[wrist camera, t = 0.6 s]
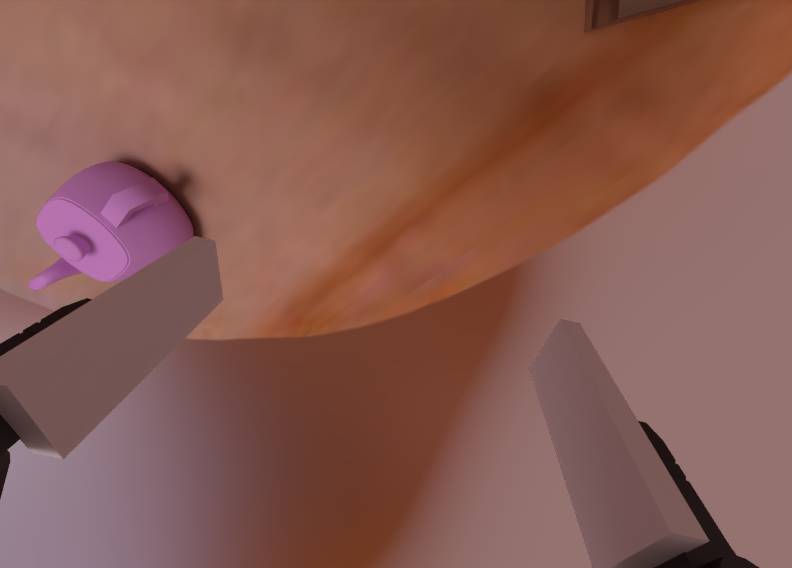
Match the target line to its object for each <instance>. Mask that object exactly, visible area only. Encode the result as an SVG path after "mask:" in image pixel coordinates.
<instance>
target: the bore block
mask: <svg viewBox="0 0 792 568" xmlns="http://www.w3.org/2000/svg"><path fill="white" fill-rule="evenodd" d="M696 1H700V0H586V12H585V29H584V32H588V31H591V30H595V29H599V28H602V27H606V26H609V25H613V24H617V23H620V22H624V21H628V20H631V19H635V18H638V17H642V16H646V15H649V14H653V13H656V12H660V11H664V10H667V9H671V8H674V7H678V6H682V5H685V4H689V3H693V2H696Z"/></svg>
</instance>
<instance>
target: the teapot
mask: <svg viewBox="0 0 792 568" xmlns="http://www.w3.org/2000/svg"><path fill="white" fill-rule="evenodd" d="M36 226H37V229H38V231H39V233H40V234H41V236H42V237H43V238H44V240H45V241H46V242H47V243H48V244H49V245H50V246H51V247H52V248H53V249H54V250H55V251H56V252H57V253H58V254H59V255H60V256H61V257H62V258H61V259H60V260H58V261H57V262H56V263H55V264H53V265H52V266H51V267H49V268H48V269H46V270H45V271H43V272H42V273H40V274H39V275H37V276H36V277H34V278H33V279H32V280H31V281H30V283H29V288H30V289H32V290H40V289H42V288H45V287H46V286H48V285H50V284H52V283H54V282H56V281H58V280H60V279H63V278H65V277H68V276H71V275H75V274H78V273H82V272H83V273H85V274H86V275H88V276H90V277H92V278H94V279H97V280H99V281H104V282H114V281H123V280H125V279H126V278H128V277H129V276H131V275H133V274H134V273H136V272H137V271H139V270H141V269H142V268H144V267H146V266H147V265H149V264H150V263H152V262H154V261H155V260H157V259H158V258H160V257H162V256H163V255H165V254H167V253H168V252H170V251H171V250H173V249H175V248H176V247H178V246H179V245H181V244H183V243H184V242H186V241H187V240H189V239H191V238H192V237H193V234H194V232H193V226H192V223H191V221H190V219H189V217H188V215H187V214H186V212H185V211H184V209H183V208H182V206H181V205H180V204H179V202H178V201H177V200H176V199H175V198H174V197H173V195H172V194H171V193H170V192H169V191H168V190H167V189H166V188H164V187H163V186H162V185H161V184H160V183H158V182H157V181H156V180H155V179H154V178H153V177H150V176H149V175H147V174H146V173H144V172H142V171H140V170H138V169H137V168H134V167H132V166H129V165H127V164H124V163H120V162H104V163H100V164H96V165H93V166H91V167H89V168H87V169H85V170H83V171H81V172H80V173H78V174H76V175H75V176H73V177H72V178H70V179H69V180H68V181H67V182H65V183H64V184H63V185H62V186H61V187H60V188H59V189H58V190H57V191H56V192H55V193H54V194H53V196H52V197H51V198H50V199H49V200H48V201H47V202H46V204H45V205H44V207H43V208H42V210H41V211H40V213H39V215H38V217H37V220H36Z"/></svg>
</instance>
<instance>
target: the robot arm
mask: <svg viewBox="0 0 792 568" xmlns="http://www.w3.org/2000/svg"><path fill="white" fill-rule="evenodd" d="M222 300H223V294H222V287H221V280H220V272H219V265H218V258H217V251H216V244H215V241H214V240H210V239H205V238H201V237H197V236H194V237H192V238H191V239H189V240H187V241H186V242H184V243H183V244H181V245H179V246H178V247H176V248H175V249H173V250H171V251H170V252H168V253H167V254H165V255H163V256H162V257H160V258H158V259H157V260H155V261H154V262H152V263H150V264H149V265H147V266H146V267H144V268H142V269H141V270H139V271H137V272H136V273H134V274H133V275H131V276H129V277H128V278H126V279H125V280H123V281H121V282H120V283H118V284H116V285H115V286H113V287H112V288H110V289H108V290H107V291H105V292H104V293H102V294H100V295H99V296H97V297H96V298H94V299H88V298H86V299H84V300H81V301H78V302H75V303H73V304H70V305H67V306H64V307H62V308H60V309H58V310H57V311H55V312H53V313H52V314H50V315H48V316H47V317H45V318H43V319H42V320H41V322H40V323H35V324H33V325H32V326H30V327H28V328H26V329H25V330H23V333H21V334H20V333H18V334H16V335H14V336H13V337H11V338H10V339H8V340H6V341H5V342H3V343H1V344H0V498H1V494H2V491H3V486H4V483H5V479H6V475H7V472H8V468H9V464H10V453H9V452H8V451H7V449H9V448H10V447H11V446H12V445H13V444H15V443H16V442H17V441H18V440H19V439H20V440H21V441H22V442H23V443H24V444H25V445H26V447H27V448H28V449H29V450H30V451H31V453H36V454H40V455H45V456H49V457H54V458H59V459H64V458H65V457H66V456H67V455H68V454H69V453H70V452H71V451H72V450H73V449H74V448H75V447H76V446H77V445H78V444H79V443H80V442H81V441H82V440H83V439H84V438H85V437H86V436H87V435H88V434H89V433H90V432H91V431H92V430H93V429H94V428H95V427H96V426H97V425H98V424H99V423H100V422H101V421H102V420H103V419H104V418H105V417H106V416H107V415H108V414H109V413H110V412H111V411H112V410H113V409H114V408H115V407H116V406H117V405H118V404H119V403H120V402H121V401H122V400H123V399H124V398H125V397H126V396H127V395H128V394H129V393H130V392H131V391H132V390H133V389H134V388H135V387H136V386H137V385H138V384H139V383H140V382H141V381H142V380H143V379H144V378H145V377H146V376H147V375H148V374H149V373H150V372H151V371H152V370H153V369H154V368H155V367H156V366H157V365H158V364H159V363H160V362H161V361H162V360H163V359H164V358H165V357H166V356H167V355H168V354H169V353H170V352H171V351H172V350H173V349H174V348H175V347H176V346H177V345H178V344H179V343H180V342H181V341H182V340H183V339H184V338H185V337H186V336H187V335H188V334H189V333H190V332H191V331H192V330H193V329H194V328H195V327H196V326H197V325H198V324H199V323H200V322H201V321H202V320H203V319H204V318H205V317H206V316H207V315H208V314H209V313H210V312H211V311H212V310H213V309H214V308H215V307H216V306H217V305H218V304H219V303H220V302H221V301H222ZM529 371H530V374H531V377H532V380H533V383H534V386H535V389H536V392H537V396H538V399H539V402H540V405H541V408H542V411H543V414H544V417H545V420H546V423H547V427H548V430H549V433H550V436H551V439H552V442H553V445H554V448H555V452H556V455H557V458H558V461H559V464H560V467H561V470H562V473H563V477H564V480H565V483H566V486H567V489H568V492H569V495H570V498H571V501H572V505H573V508H574V511H575V514H576V517H577V520H578V523H579V526H580V529H581V532H582V536H583V539H584V542H585V545H586V548H587V551H588V554H589V558H590V560H591V564H592V567H593V568H759V567H757V566H755V565H754V564H753V563H751V562H749V561H748V560H747V559H745V558H742V557H739V556H737V555H736V554H735V552H734V551H733V550H732V549H731V547H730V545H729V544H728V542H727V541H726V539H725V538H724V536H723V534H722V533H721V531H720V530H719V528H718V526H717V525H716V523H715V522H714V520H713V519H712V517H711V515H710V514H709V512H708V511H707V509H706V508H705V506H704V504H703V503H702V501H701V500H700V498H699V497H698V495H697V493H696V492H695V490H694V489H693V487H692V485H691V484H690V482H688V481H686V476H685V475H684V473H683V471H682V470H681V469H680V467H679V465H678V464H676V463H675V459H674V457H673V456H672V454H671V452H670V451H669V449H668V448H667V446H666V444H665V443H664V442H663V440H662V439H661V438H660V437H659V436H658V435H657V434H656V433H655V432H654V431H653V430H652V429H651V428H650V427H649V425H648V424H647V423H645V422H640V421H638V420H637V419H636V417H635V415H634V413H633V412H632V410H631V408H630V407H629V405H628V403H627V402H626V400H625V398H624V397H623V395H622V394H621V392H620V390H619V388H618V387H617V385H616V383H615V382H614V380H613V378H612V377H611V375H610V374H609V372H608V370H607V368H606V367H605V365H604V363H603V362H602V360H601V358H600V356H599V355H598V353H597V351H596V350H595V348H594V346H593V345H592V343H591V342H590V340H589V338H588V336H587V335H586V333H585V331H584V330H583V328H582V326H581V325H580V324H579V323H575V322H571V321H566V320H562V319H560V320H559V322H558V323H557V325H556V326H555V328H554V329H553V331H552V333H551V334H550V336H549V337H548V339H547V341H546V342H545V344H544V345H543V347H542V348H541V350H540V352H539V353H538V355H537V356H536V358H535V359H534V361H533V363H532V364H531V366H530V367H529Z"/></svg>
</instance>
